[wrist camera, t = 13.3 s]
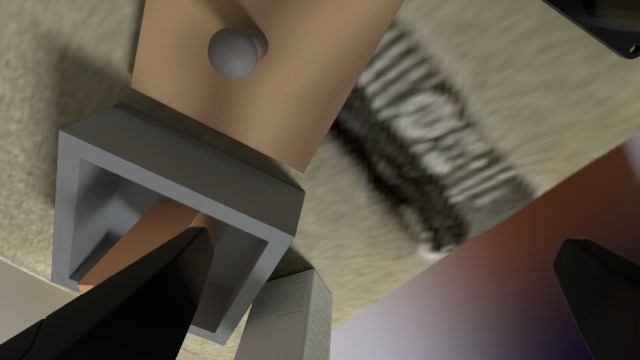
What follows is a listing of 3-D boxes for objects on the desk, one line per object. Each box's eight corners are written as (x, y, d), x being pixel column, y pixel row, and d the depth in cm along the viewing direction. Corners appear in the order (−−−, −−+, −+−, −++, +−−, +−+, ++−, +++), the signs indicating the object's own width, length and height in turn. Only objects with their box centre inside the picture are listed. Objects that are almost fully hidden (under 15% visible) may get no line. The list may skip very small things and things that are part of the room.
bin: (305, 192, 23) (294, 237, 19) (242, 295, 30) (224, 345, 25) (120, 102, 20) (58, 129, 16) (98, 237, 27) (50, 281, 23)
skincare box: (280, 309, 30) (243, 471, 20) (256, 280, 28) (201, 442, 18) (336, 295, 28) (328, 465, 18) (314, 263, 27) (291, 432, 16)
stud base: (406, -10, 16) (430, -13, 11) (305, 166, 22) (292, 213, 17) (185, -154, 14) (97, -236, 9) (140, 83, 20) (71, 110, 15)
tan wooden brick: (206, 202, 23) (145, 288, 16) (217, 242, 25) (167, 333, 18) (156, 201, 24) (76, 284, 17) (171, 240, 26) (105, 329, 19)
